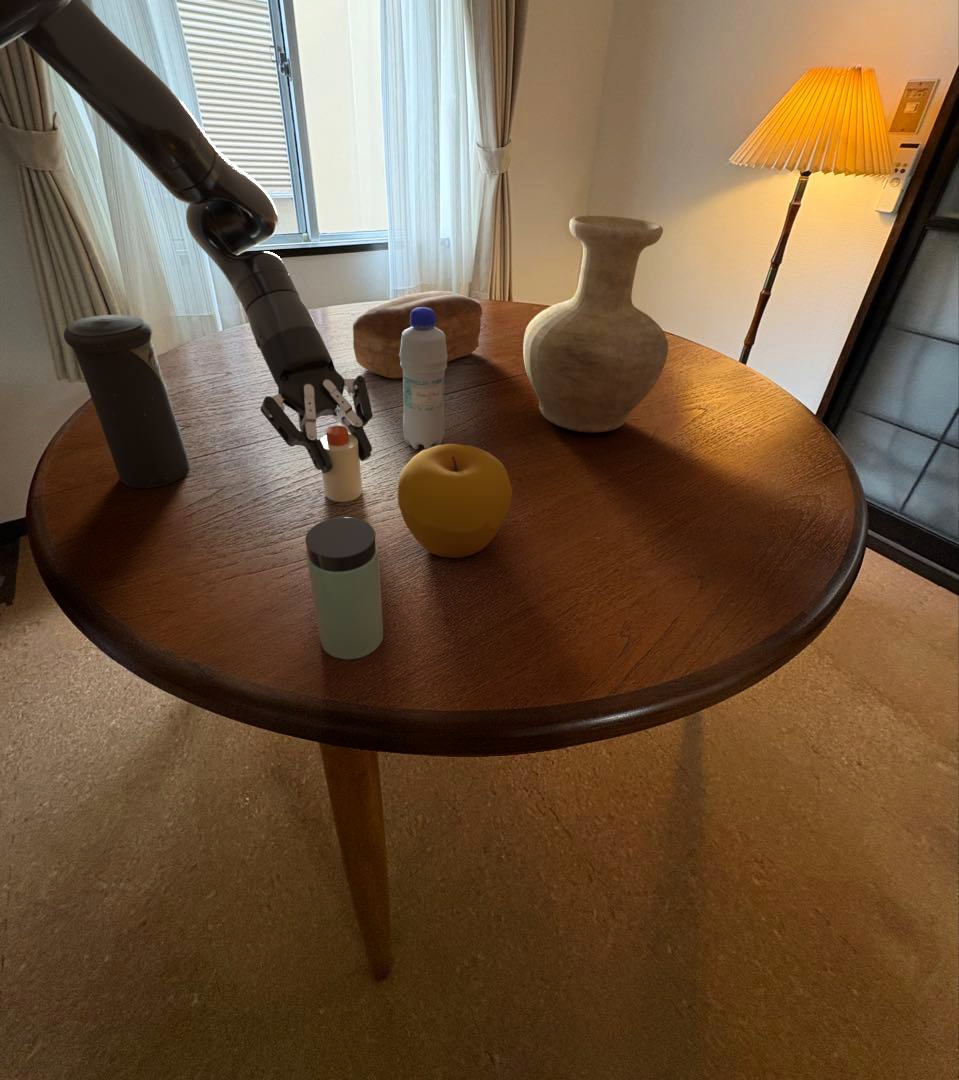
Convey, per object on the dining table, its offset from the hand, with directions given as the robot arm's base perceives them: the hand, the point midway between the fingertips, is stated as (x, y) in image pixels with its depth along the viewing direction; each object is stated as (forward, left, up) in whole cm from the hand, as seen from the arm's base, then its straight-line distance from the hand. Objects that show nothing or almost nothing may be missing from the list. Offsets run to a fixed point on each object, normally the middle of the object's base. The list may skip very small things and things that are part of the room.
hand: (347, 463), depth 70 cm
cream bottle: (-1, +2, -5) cm, 6 cm away
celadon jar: (-2, -24, -5) cm, 25 cm away
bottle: (+12, +14, -5) cm, 19 cm away
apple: (+11, -11, -5) cm, 17 cm away
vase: (+40, +18, -5) cm, 44 cm away
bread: (+18, +50, -5) cm, 53 cm away
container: (-25, +11, -5) cm, 28 cm away
